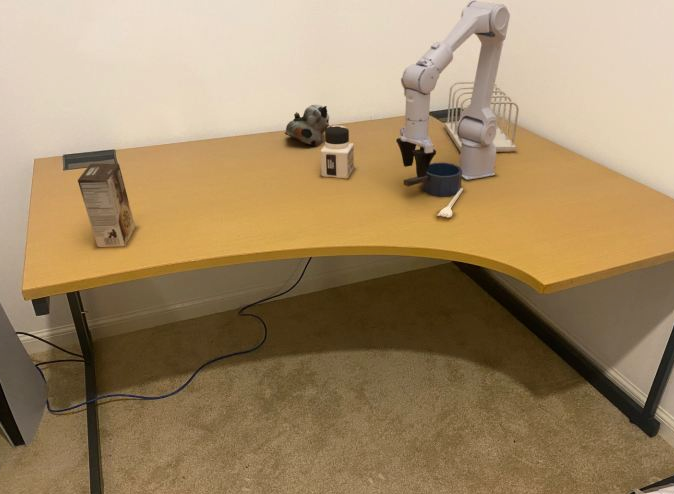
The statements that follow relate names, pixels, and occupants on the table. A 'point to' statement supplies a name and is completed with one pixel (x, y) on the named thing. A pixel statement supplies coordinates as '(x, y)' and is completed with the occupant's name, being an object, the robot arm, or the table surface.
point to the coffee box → (107, 204)
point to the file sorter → (500, 139)
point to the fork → (449, 206)
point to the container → (337, 153)
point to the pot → (439, 179)
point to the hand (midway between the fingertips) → (414, 171)
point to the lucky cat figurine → (309, 125)
